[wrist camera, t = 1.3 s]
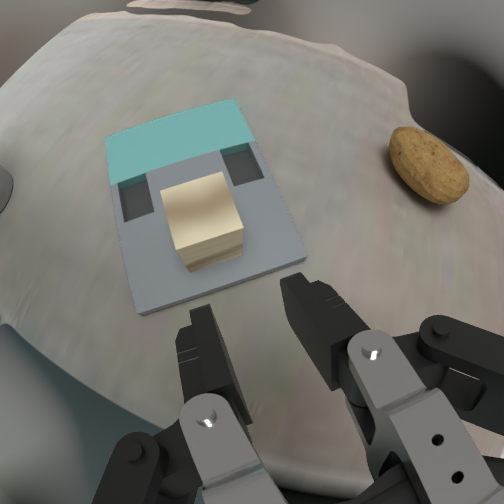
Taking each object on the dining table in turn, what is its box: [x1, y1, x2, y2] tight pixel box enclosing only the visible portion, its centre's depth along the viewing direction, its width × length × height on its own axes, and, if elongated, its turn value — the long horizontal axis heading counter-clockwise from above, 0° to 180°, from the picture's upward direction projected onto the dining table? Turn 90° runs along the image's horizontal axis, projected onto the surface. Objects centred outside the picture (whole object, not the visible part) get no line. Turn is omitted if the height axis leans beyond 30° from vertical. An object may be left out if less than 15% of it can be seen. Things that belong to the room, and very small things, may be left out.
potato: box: [389, 127, 469, 205], centre depth 36 cm, size 10×14×8 cm
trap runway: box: [105, 99, 308, 316], centre depth 36 cm, size 26×20×2 cm
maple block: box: [160, 172, 244, 273], centre depth 29 cm, size 6×6×8 cm
